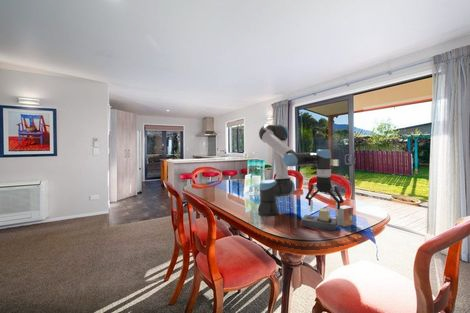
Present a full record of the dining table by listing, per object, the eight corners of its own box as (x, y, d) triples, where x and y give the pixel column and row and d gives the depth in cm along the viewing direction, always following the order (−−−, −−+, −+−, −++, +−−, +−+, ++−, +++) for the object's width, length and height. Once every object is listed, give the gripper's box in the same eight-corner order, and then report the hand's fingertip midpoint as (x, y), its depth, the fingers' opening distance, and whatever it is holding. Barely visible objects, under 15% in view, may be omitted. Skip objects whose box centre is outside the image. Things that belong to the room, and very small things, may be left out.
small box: (343, 227, 117) (343, 209, 117) (335, 224, 122) (335, 206, 122) (353, 224, 120) (353, 207, 120) (345, 221, 126) (344, 204, 125)
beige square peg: (319, 227, 118) (318, 210, 117) (320, 224, 122) (320, 208, 122) (328, 229, 115) (328, 211, 115) (330, 226, 119) (329, 209, 119)
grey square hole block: (301, 226, 121) (301, 219, 120) (305, 221, 129) (305, 214, 129) (335, 231, 111) (335, 224, 111) (337, 225, 120) (336, 218, 119)
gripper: (299, 176, 121) (300, 211, 122) (348, 178, 108) (348, 218, 109) (303, 174, 127) (303, 208, 128) (348, 176, 114) (348, 214, 115)
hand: (323, 212), depth 119 cm, fingers open, 13 cm apart
